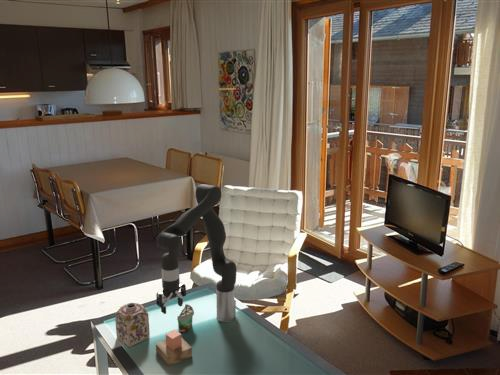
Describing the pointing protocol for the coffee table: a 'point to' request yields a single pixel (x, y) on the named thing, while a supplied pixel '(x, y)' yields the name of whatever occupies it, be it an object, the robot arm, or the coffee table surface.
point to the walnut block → (173, 352)
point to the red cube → (173, 339)
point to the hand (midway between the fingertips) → (172, 309)
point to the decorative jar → (132, 324)
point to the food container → (185, 319)
